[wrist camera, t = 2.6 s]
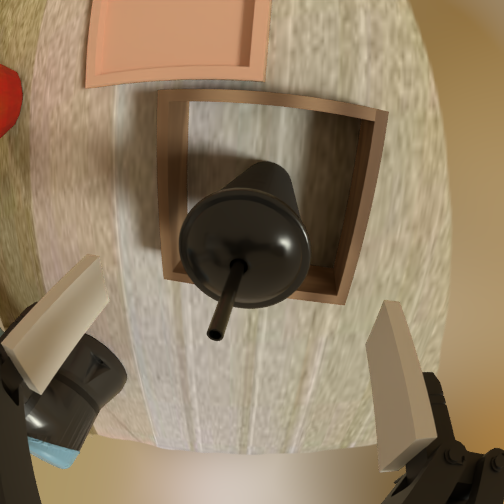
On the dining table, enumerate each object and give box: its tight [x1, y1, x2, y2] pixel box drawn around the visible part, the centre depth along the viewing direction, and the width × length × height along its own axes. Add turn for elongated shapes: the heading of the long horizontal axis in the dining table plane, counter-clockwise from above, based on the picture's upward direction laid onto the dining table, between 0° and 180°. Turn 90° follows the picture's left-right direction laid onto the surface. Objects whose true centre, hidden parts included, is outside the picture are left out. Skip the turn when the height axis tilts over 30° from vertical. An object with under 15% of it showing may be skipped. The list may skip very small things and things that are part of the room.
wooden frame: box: [157, 89, 389, 305], centre depth 27 cm, size 18×18×5 cm
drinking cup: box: [178, 162, 311, 341], centre depth 20 cm, size 8×8×20 cm
